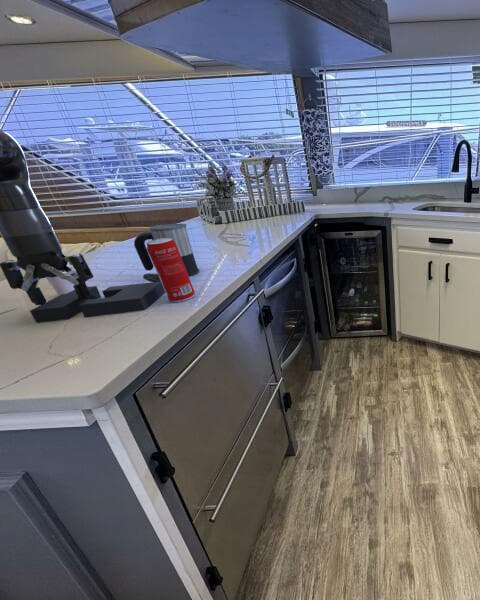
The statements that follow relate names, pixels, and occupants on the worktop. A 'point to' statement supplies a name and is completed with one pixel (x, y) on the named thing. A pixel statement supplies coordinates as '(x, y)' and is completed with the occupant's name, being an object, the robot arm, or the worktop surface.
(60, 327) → the worktop surface
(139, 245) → the milk frother
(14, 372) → the worktop surface
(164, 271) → the beverage can
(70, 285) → the smoothie
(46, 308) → the pad
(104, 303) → the notch pad
